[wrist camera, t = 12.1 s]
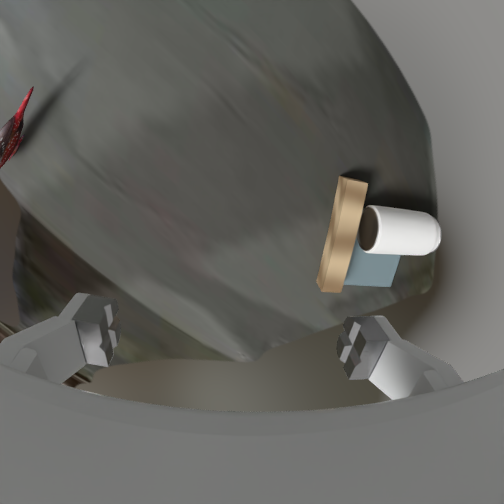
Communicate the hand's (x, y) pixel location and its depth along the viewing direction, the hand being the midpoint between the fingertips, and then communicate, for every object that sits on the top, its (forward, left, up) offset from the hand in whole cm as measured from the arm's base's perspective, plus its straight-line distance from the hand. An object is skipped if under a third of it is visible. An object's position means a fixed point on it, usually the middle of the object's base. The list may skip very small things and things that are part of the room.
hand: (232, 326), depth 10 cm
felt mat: (+7, +23, -29) cm, 38 cm away
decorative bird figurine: (-6, -32, -29) cm, 44 cm away
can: (+3, +18, -25) cm, 31 cm away
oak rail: (+5, +16, -29) cm, 33 cm away
